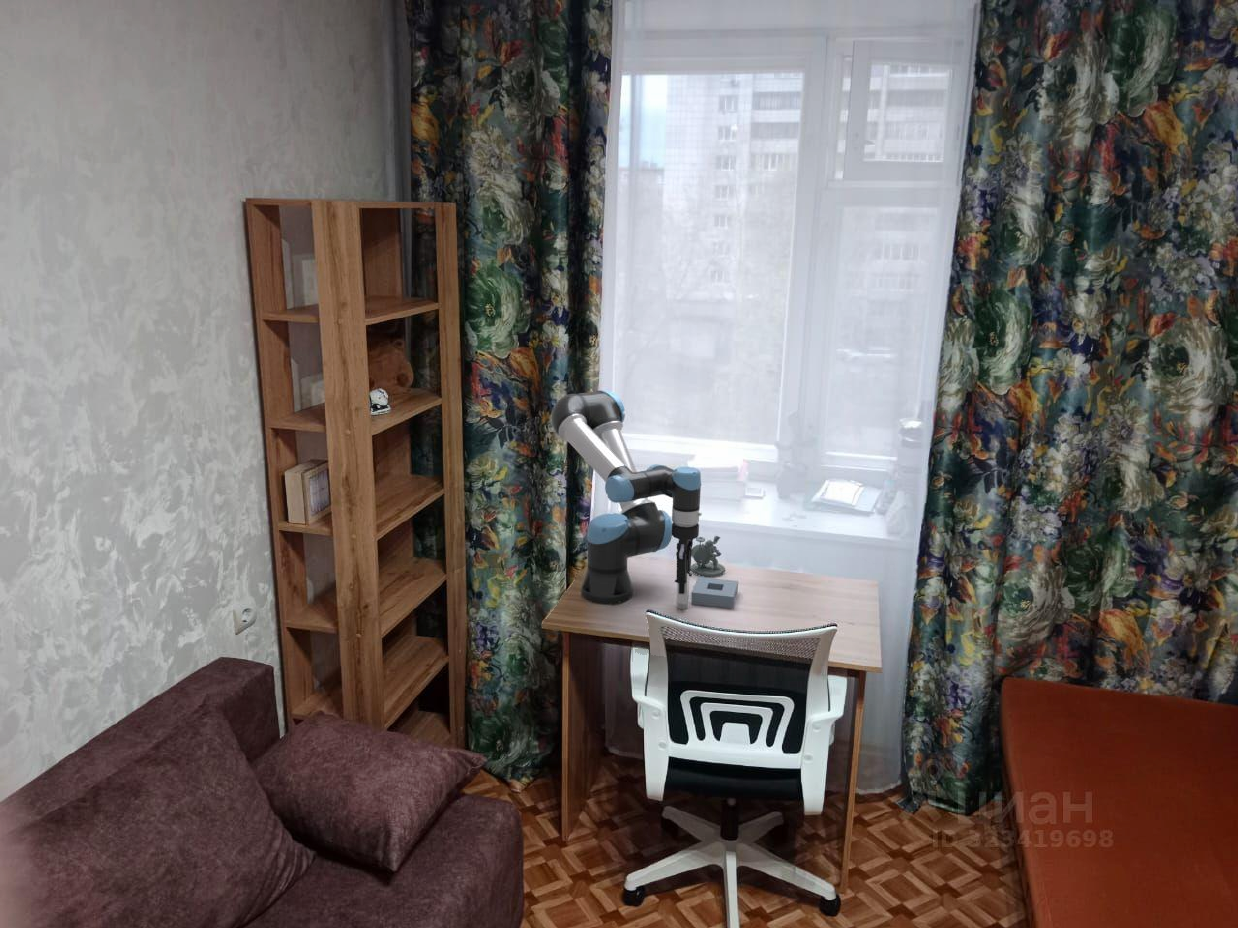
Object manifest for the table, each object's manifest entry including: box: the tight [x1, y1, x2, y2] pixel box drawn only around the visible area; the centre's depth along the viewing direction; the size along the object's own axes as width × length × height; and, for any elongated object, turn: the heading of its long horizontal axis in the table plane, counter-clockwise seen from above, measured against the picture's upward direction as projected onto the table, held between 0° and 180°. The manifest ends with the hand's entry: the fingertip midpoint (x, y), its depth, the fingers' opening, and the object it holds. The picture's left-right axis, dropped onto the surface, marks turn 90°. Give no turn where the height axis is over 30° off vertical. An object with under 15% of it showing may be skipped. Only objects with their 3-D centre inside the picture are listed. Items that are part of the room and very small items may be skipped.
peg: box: [676, 573, 690, 610], centre depth 261 cm, size 3×3×10 cm
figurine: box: [690, 535, 726, 578], centre depth 288 cm, size 11×11×12 cm
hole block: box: [690, 576, 739, 609], centre depth 269 cm, size 12×12×4 cm
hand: (682, 600), depth 262 cm, fingers closed on peg, 3 cm apart
